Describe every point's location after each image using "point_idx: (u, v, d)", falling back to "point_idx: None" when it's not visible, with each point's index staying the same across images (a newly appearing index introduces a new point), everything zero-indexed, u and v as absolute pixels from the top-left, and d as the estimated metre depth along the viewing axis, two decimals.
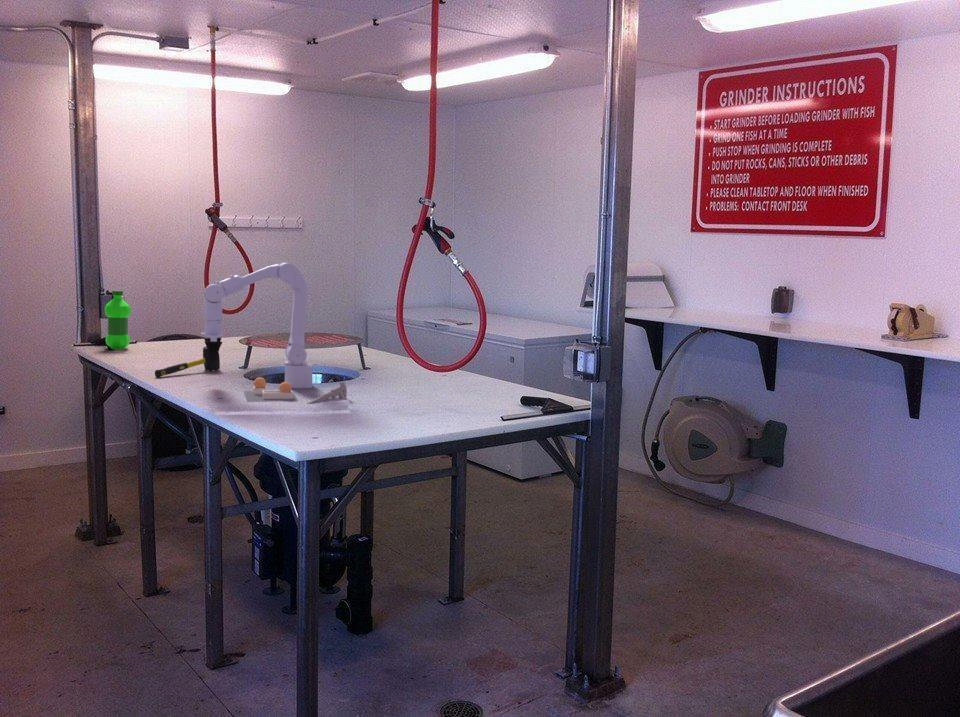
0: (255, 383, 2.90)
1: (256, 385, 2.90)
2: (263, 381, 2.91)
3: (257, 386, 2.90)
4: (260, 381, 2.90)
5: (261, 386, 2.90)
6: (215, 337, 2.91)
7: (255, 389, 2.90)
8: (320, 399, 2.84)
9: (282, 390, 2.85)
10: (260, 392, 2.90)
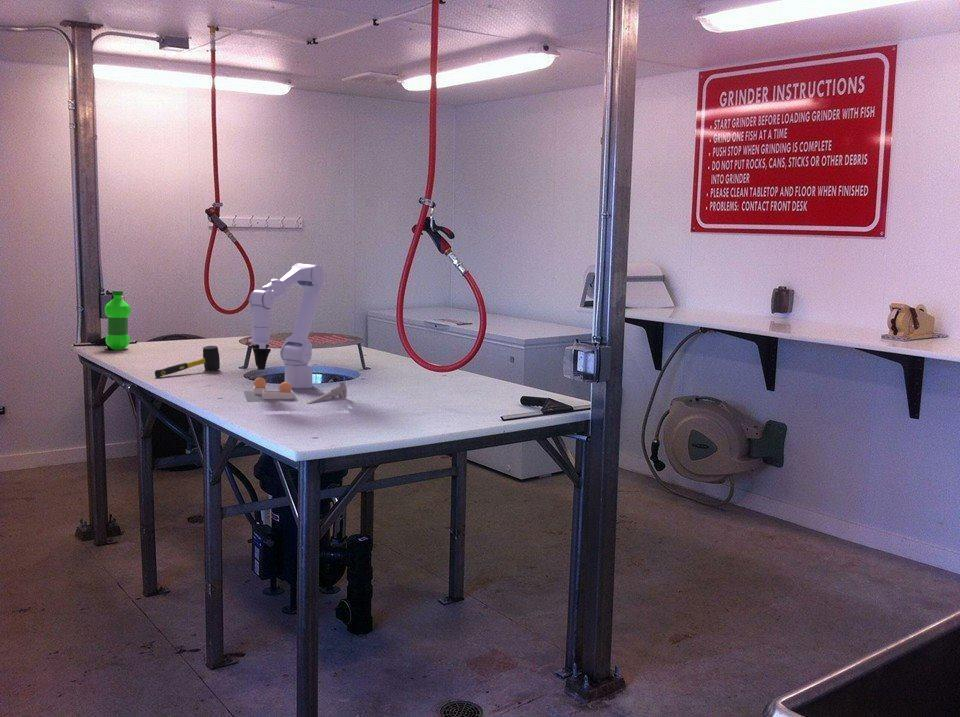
0: (255, 383, 2.90)
1: (256, 385, 2.90)
2: (263, 381, 2.91)
3: (257, 386, 2.90)
4: (260, 381, 2.90)
5: (261, 386, 2.90)
6: (264, 344, 2.83)
7: (255, 389, 2.90)
8: (320, 399, 2.84)
9: (282, 390, 2.85)
10: (260, 392, 2.90)
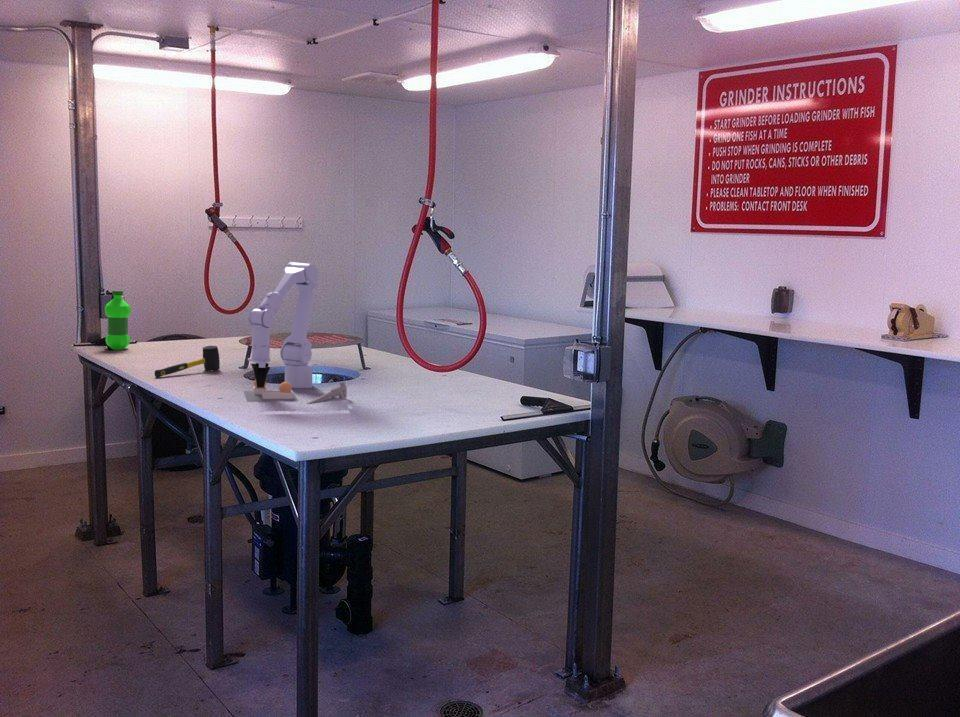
0: (255, 383, 2.90)
1: (256, 385, 2.90)
2: None
3: None
4: None
5: None
6: (264, 363, 2.84)
7: (255, 389, 2.90)
8: (320, 399, 2.84)
9: (282, 390, 2.85)
10: (260, 392, 2.90)
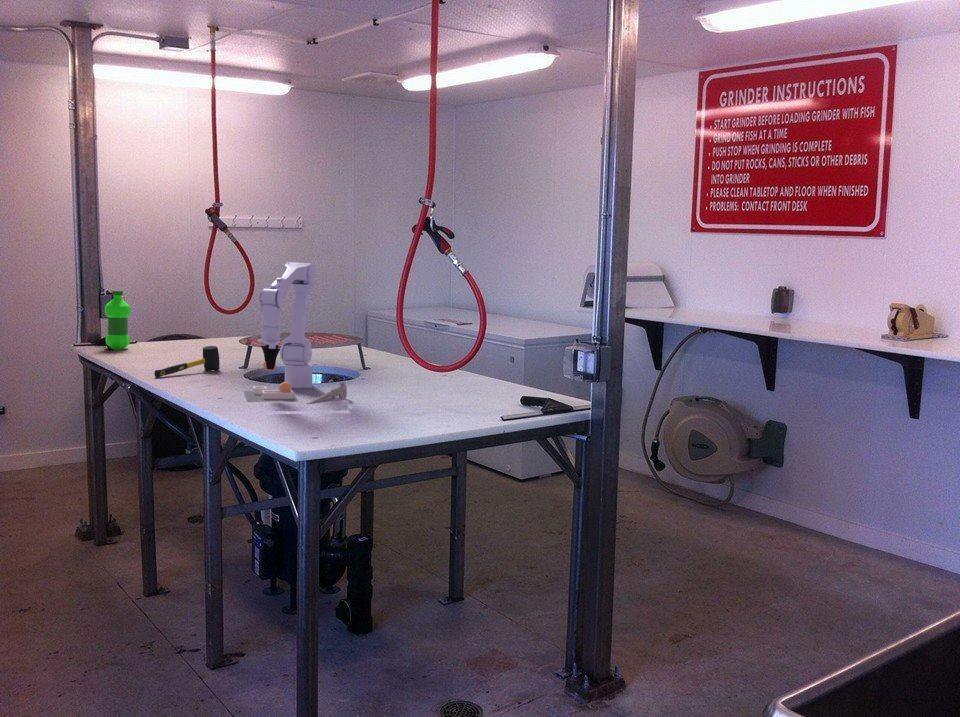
0: (264, 365, 2.84)
1: (265, 367, 2.84)
2: None
3: (266, 368, 2.84)
4: None
5: None
6: (274, 344, 2.78)
7: (255, 389, 2.90)
8: (320, 399, 2.84)
9: (282, 390, 2.85)
10: (260, 392, 2.90)
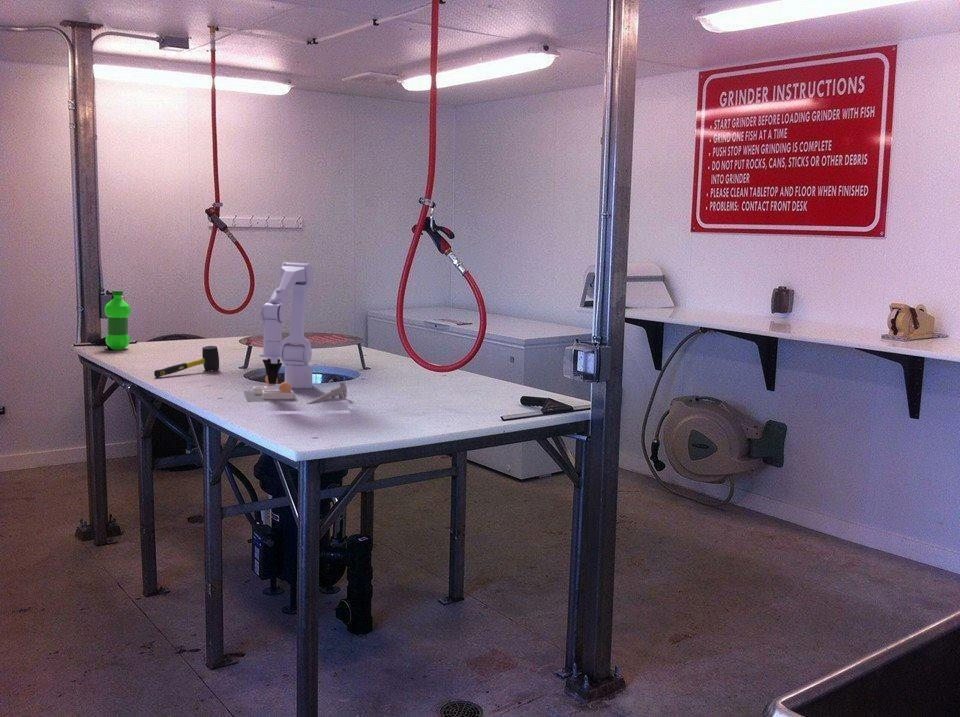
0: (266, 379, 2.83)
1: (267, 382, 2.83)
2: None
3: (268, 382, 2.83)
4: None
5: None
6: (276, 359, 2.77)
7: (255, 389, 2.90)
8: (320, 399, 2.84)
9: (282, 390, 2.85)
10: (260, 392, 2.90)
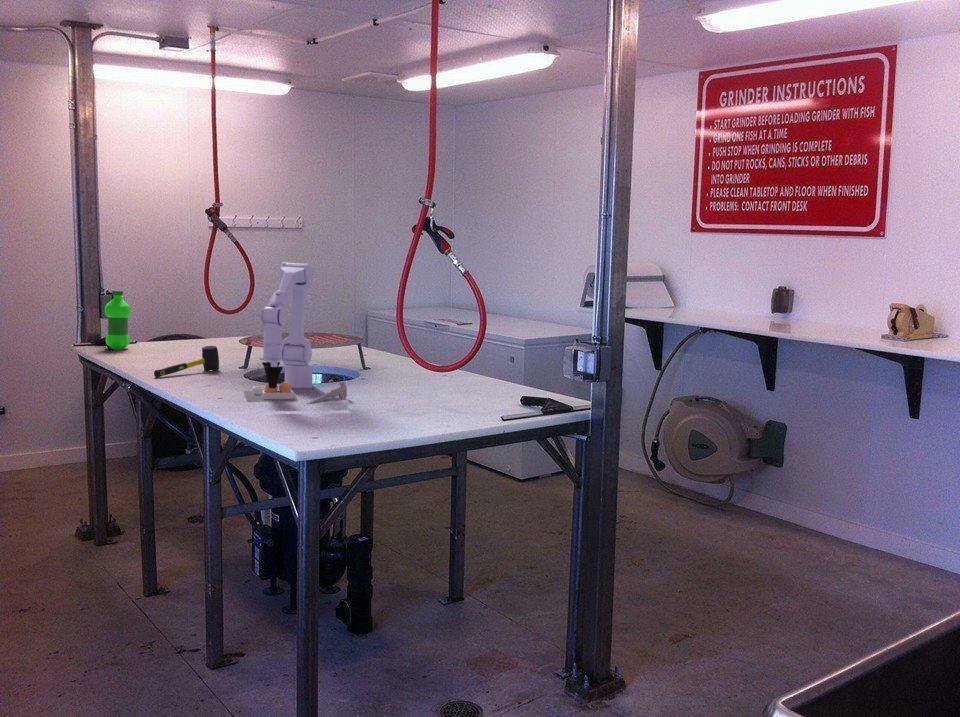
0: (266, 388, 2.84)
1: (267, 390, 2.84)
2: None
3: (268, 391, 2.84)
4: None
5: (272, 391, 2.84)
6: (276, 362, 2.77)
7: (255, 389, 2.90)
8: (320, 399, 2.84)
9: (282, 390, 2.85)
10: (260, 392, 2.90)
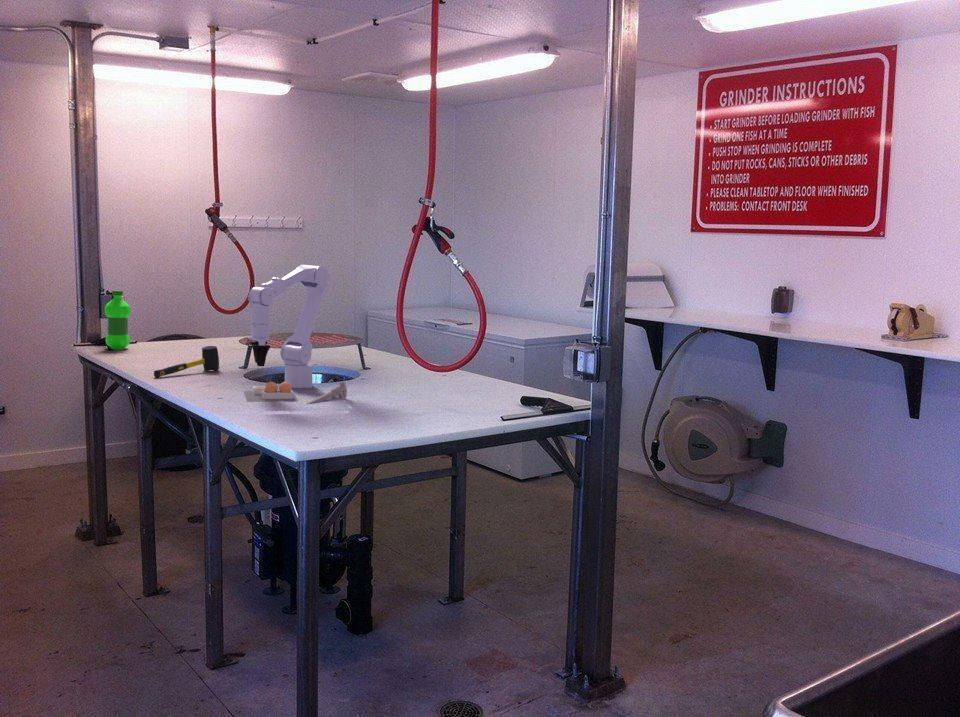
0: (266, 388, 2.84)
1: (267, 390, 2.84)
2: (274, 386, 2.84)
3: (268, 391, 2.84)
4: (271, 386, 2.84)
5: (272, 391, 2.84)
6: (263, 341, 2.85)
7: (255, 389, 2.90)
8: (320, 399, 2.84)
9: (282, 390, 2.85)
10: (260, 392, 2.90)
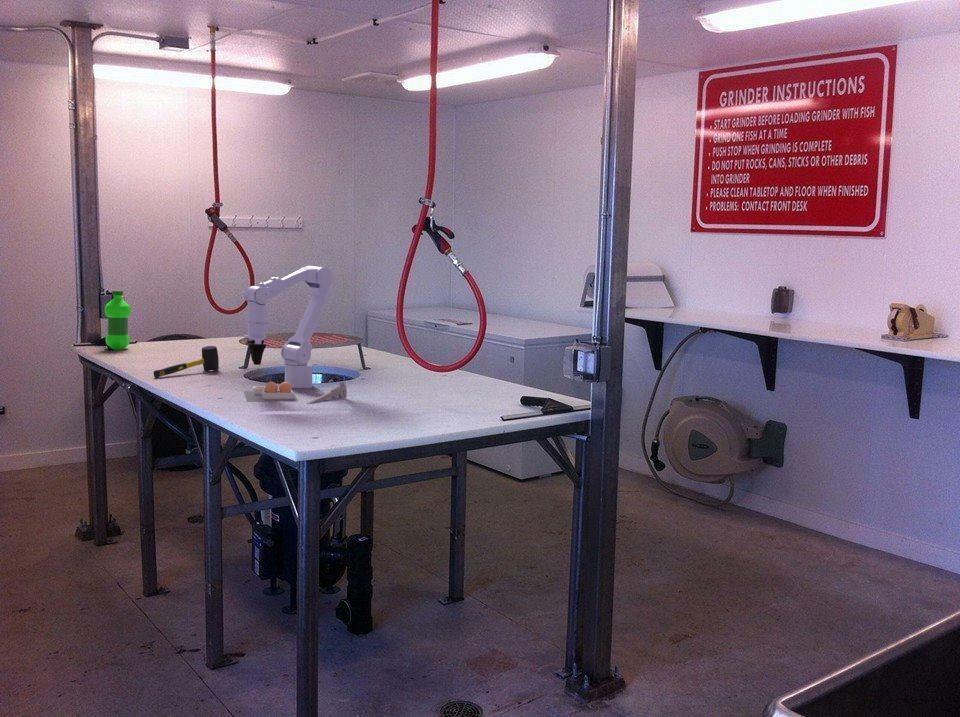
0: (266, 388, 2.84)
1: (267, 390, 2.84)
2: (274, 386, 2.84)
3: (268, 391, 2.84)
4: (271, 386, 2.84)
5: (272, 391, 2.84)
6: (260, 340, 2.88)
7: (255, 389, 2.90)
8: (320, 399, 2.84)
9: (282, 390, 2.85)
10: (260, 392, 2.90)
